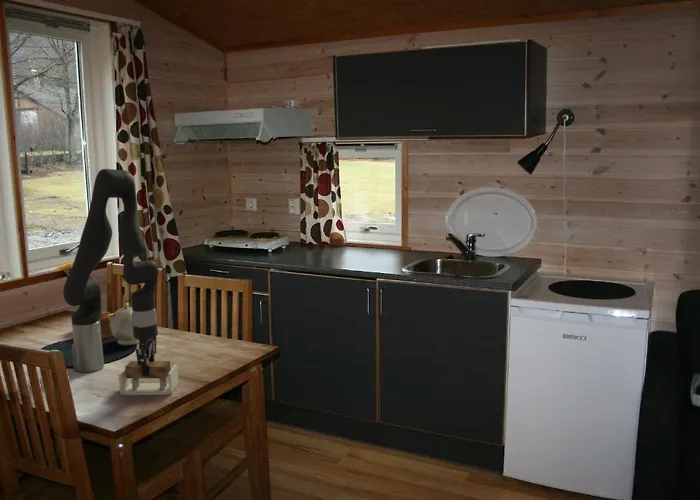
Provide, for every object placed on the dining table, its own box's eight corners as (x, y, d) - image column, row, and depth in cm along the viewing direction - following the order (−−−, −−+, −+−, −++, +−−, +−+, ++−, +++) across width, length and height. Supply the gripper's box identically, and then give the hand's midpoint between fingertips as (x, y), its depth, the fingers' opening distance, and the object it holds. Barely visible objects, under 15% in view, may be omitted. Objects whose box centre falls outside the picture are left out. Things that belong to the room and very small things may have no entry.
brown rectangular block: (170, 372, 210) (169, 361, 209) (165, 378, 205) (165, 366, 204) (131, 372, 210) (130, 361, 210) (126, 378, 205) (125, 366, 205)
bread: (120, 335, 264) (118, 312, 262) (94, 342, 256) (92, 318, 255) (100, 326, 277) (98, 304, 275) (76, 332, 270) (73, 309, 268)
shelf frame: (120, 395, 205) (118, 374, 203) (128, 385, 212) (127, 365, 211) (172, 394, 205) (170, 373, 203) (178, 384, 212) (177, 364, 211)
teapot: (115, 351, 245) (112, 310, 242) (105, 342, 256) (101, 302, 252) (161, 341, 256) (158, 302, 252) (149, 333, 266) (146, 295, 263)
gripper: (140, 315, 211) (144, 364, 214) (125, 329, 197) (129, 381, 200) (162, 315, 211) (166, 364, 214) (149, 329, 197) (153, 380, 200)
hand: (148, 372), depth 207 cm, fingers open, 5 cm apart
